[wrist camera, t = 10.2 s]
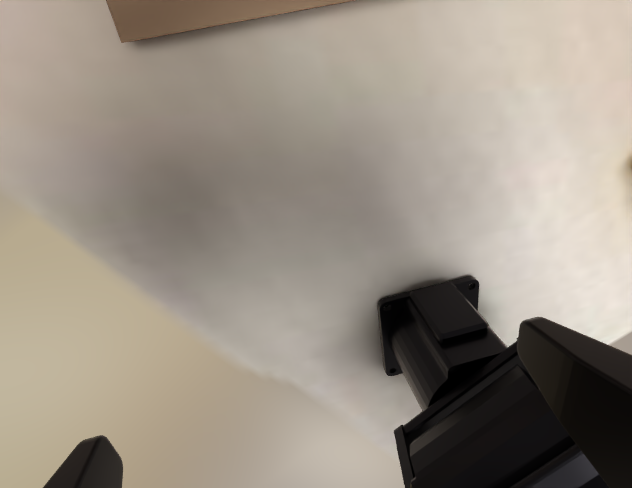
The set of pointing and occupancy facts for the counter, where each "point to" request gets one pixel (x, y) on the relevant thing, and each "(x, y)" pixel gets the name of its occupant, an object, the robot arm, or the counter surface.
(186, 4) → the step riser
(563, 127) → the counter surface
